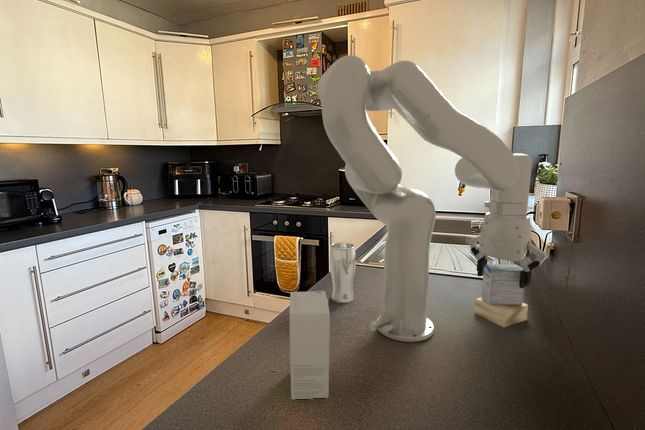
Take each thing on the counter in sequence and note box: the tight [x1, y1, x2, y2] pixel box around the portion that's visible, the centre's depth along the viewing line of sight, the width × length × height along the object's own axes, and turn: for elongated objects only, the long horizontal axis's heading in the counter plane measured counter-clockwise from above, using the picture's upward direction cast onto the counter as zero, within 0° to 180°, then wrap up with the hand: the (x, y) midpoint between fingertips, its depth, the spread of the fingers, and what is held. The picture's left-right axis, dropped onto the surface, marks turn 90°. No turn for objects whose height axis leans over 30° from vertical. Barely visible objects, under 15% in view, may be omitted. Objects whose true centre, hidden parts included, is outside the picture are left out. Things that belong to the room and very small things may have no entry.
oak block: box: [474, 296, 529, 328], centre depth 84 cm, size 8×8×4 cm
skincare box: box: [289, 290, 331, 400], centre depth 59 cm, size 8×7×16 cm
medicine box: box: [481, 263, 525, 305], centre depth 83 cm, size 8×4×9 cm, turn 87°
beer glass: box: [329, 241, 357, 304], centre depth 94 cm, size 7×7×15 cm
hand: (501, 280), depth 82 cm, fingers open, 9 cm apart
